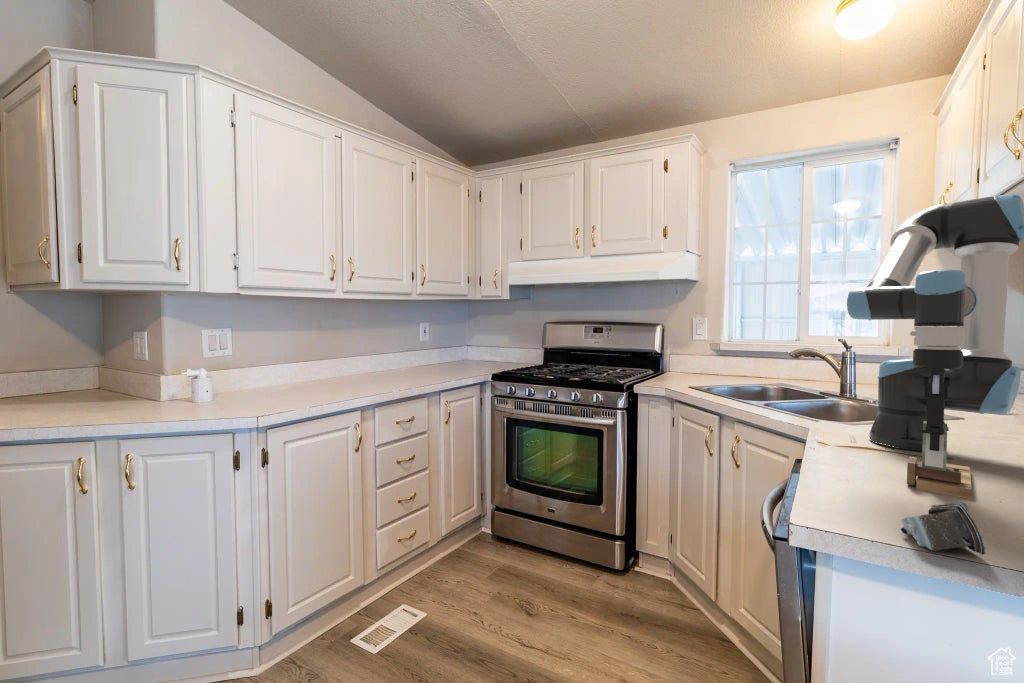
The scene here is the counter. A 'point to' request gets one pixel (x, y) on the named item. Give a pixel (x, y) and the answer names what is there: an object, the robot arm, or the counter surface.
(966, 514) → the chocolate cake
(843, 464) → the counter surface
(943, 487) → the oak board
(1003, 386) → the robot arm
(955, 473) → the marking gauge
